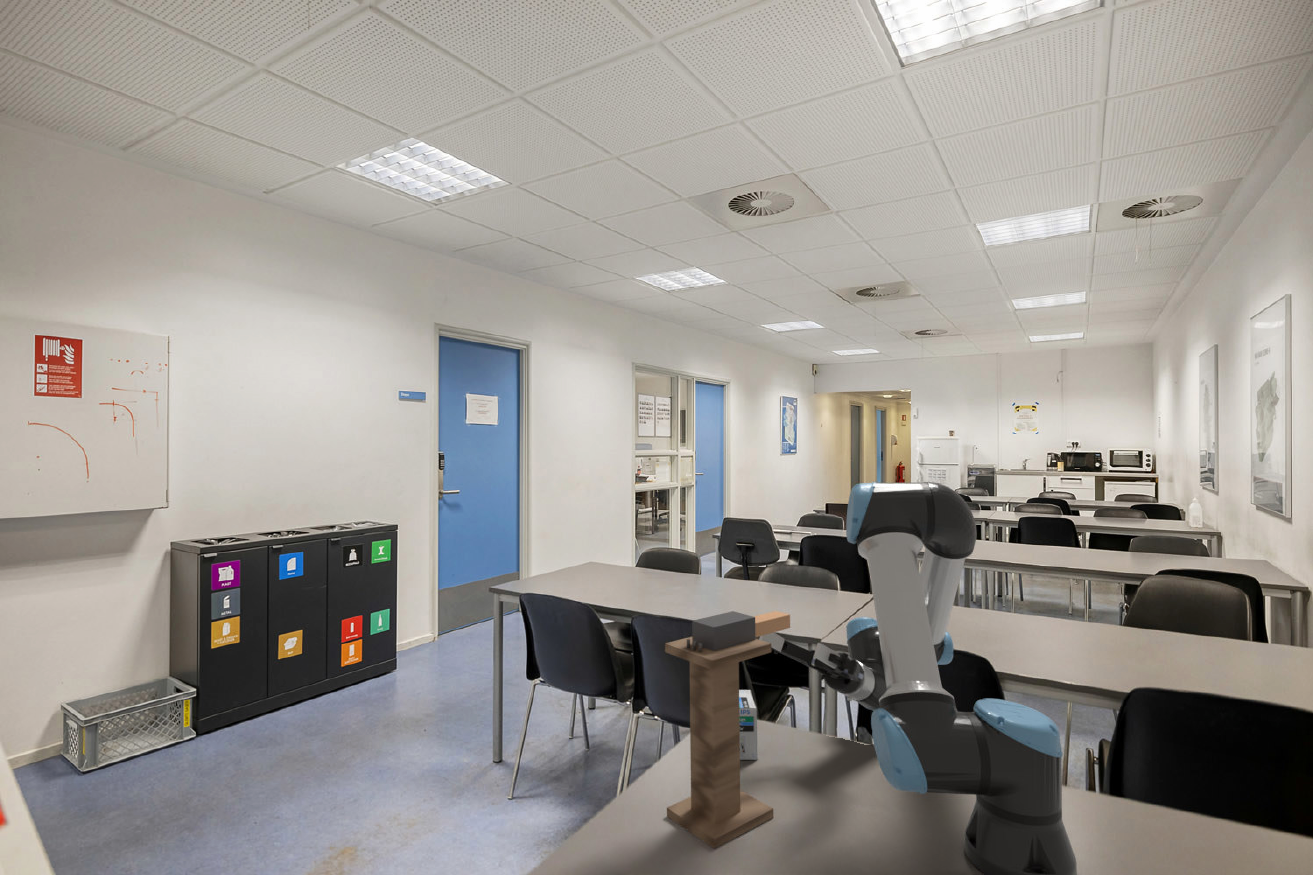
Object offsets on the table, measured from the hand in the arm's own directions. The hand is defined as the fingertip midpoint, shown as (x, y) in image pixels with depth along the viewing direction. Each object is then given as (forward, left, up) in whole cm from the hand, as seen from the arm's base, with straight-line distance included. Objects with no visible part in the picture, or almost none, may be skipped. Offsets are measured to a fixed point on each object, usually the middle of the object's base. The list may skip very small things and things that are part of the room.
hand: (788, 641), depth 128 cm
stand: (0, +19, -27) cm, 33 cm away
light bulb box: (+16, -2, -27) cm, 31 cm away
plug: (0, +12, +3) cm, 13 cm away
